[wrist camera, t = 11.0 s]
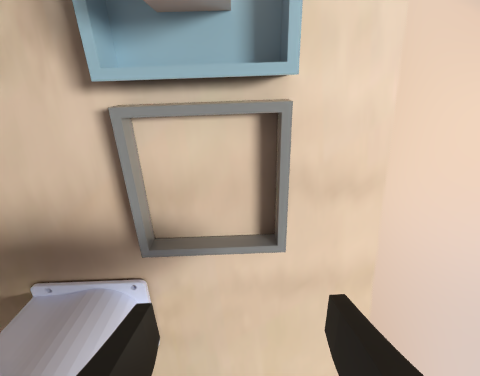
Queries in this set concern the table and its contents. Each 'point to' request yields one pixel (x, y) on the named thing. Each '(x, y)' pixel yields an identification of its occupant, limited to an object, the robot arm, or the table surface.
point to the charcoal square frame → (138, 194)
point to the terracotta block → (189, 5)
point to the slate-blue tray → (189, 40)
